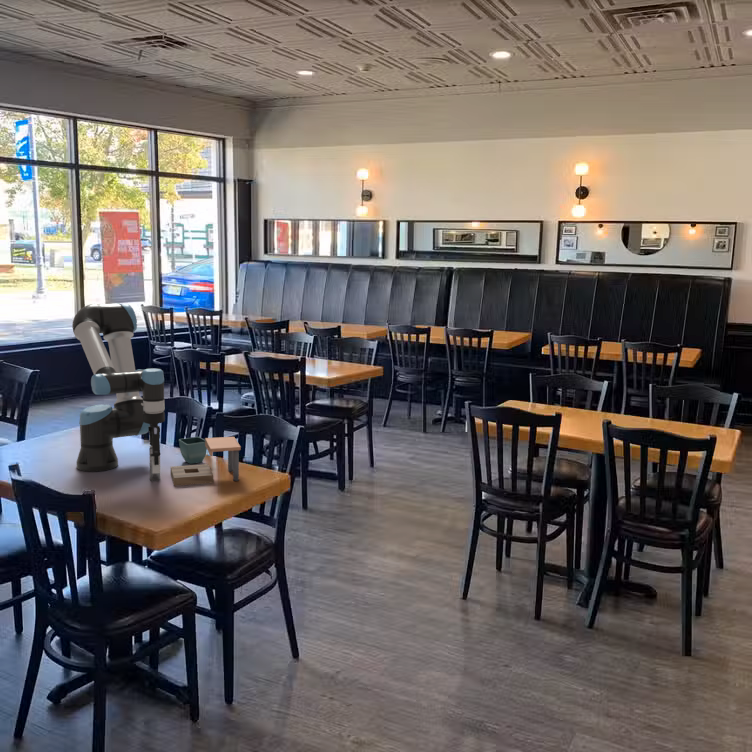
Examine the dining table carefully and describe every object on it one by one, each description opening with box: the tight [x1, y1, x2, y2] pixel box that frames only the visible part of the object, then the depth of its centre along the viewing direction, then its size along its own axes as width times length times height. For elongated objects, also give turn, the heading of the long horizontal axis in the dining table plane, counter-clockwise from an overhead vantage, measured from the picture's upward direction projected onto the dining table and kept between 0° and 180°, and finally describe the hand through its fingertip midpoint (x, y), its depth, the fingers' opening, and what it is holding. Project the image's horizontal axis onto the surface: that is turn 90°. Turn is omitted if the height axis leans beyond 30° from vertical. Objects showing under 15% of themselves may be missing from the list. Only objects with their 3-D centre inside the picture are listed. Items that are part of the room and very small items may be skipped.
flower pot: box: [178, 436, 208, 465], centre depth 303 cm, size 9×9×9 cm
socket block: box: [170, 463, 214, 487], centre depth 284 cm, size 14×14×3 cm
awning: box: [204, 436, 242, 482], centre depth 287 cm, size 15×11×13 cm
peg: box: [149, 447, 161, 482], centre depth 280 cm, size 4×4×12 cm
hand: (155, 467), depth 280 cm, fingers open, 13 cm apart
